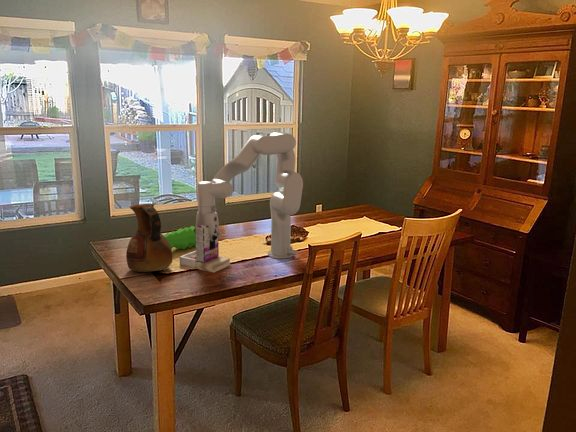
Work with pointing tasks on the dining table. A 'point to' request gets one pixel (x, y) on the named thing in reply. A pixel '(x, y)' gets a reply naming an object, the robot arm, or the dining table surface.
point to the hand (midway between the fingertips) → (207, 247)
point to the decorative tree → (182, 238)
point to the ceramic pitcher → (148, 242)
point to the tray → (188, 260)
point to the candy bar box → (205, 245)
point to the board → (213, 264)
